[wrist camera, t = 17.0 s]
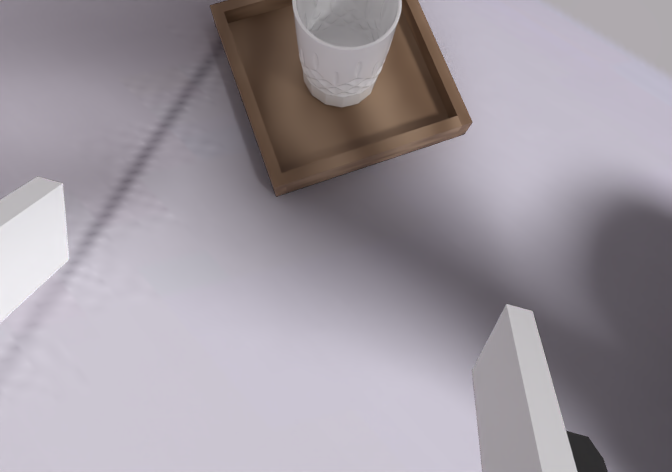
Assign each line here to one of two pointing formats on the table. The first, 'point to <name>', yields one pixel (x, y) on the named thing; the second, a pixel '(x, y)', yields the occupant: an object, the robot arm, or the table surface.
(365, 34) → the white cup
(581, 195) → the table surface
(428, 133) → the walnut tray
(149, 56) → the table surface
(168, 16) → the table surface
